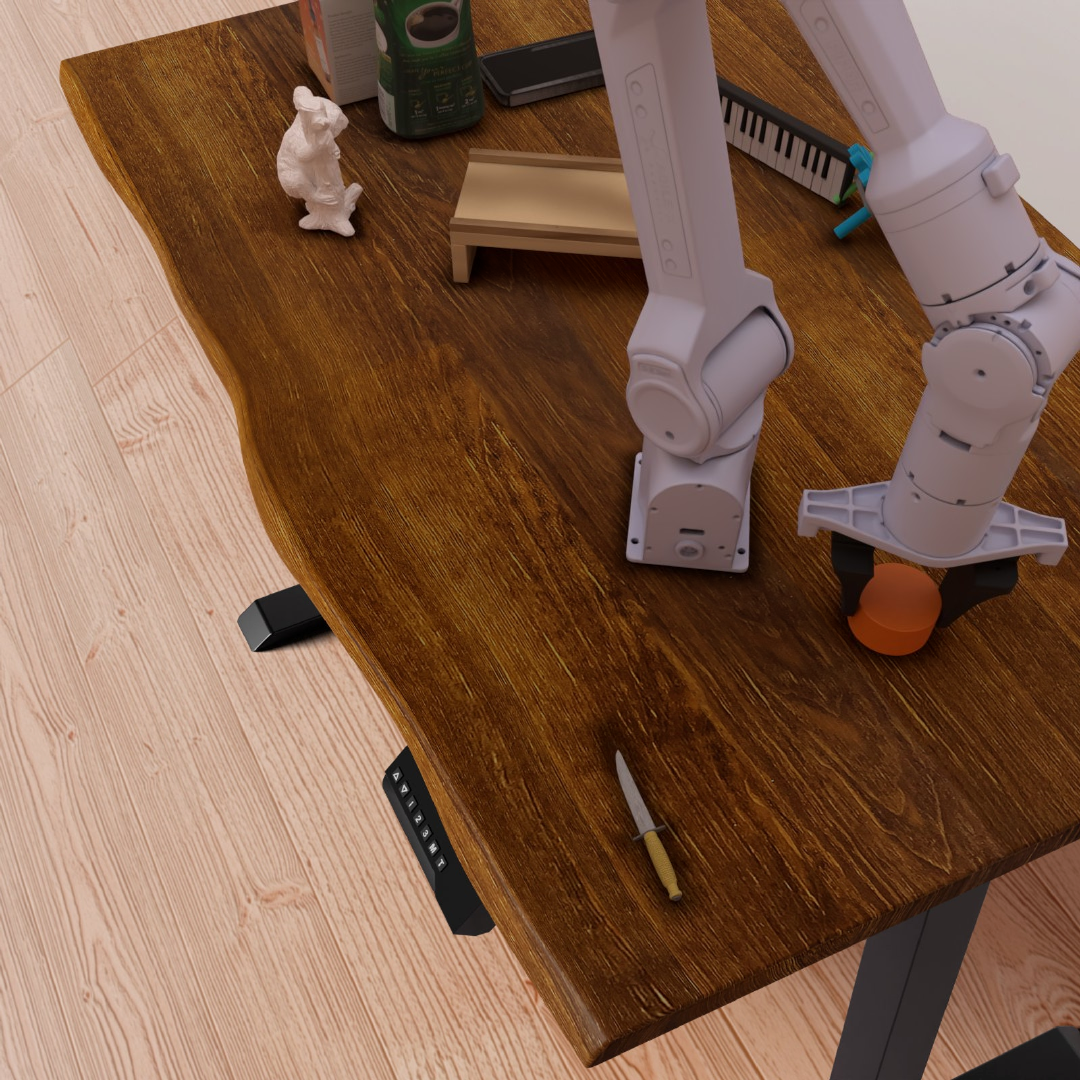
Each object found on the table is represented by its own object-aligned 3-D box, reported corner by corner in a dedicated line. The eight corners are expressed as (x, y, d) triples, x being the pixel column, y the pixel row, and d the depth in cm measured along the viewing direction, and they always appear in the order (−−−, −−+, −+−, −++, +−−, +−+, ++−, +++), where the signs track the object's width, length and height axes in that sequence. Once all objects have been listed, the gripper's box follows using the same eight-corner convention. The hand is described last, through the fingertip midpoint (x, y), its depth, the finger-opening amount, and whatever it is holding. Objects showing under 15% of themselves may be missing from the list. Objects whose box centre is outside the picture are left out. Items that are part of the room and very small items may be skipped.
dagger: (590, 739, 69) (621, 726, 69) (593, 746, 69) (624, 733, 69) (659, 903, 62) (693, 888, 62) (661, 909, 63) (695, 894, 63)
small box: (308, 66, 114) (289, -42, 105) (362, 53, 115) (348, -55, 107) (334, 108, 109) (317, -1, 101) (390, 94, 110) (378, -15, 102)
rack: (676, 300, 92) (683, 241, 88) (453, 282, 94) (449, 223, 89) (682, 222, 99) (689, 163, 94) (473, 206, 100) (469, 147, 95)
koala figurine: (378, 239, 97) (360, 109, 88) (299, 255, 96) (272, 126, 86) (356, 181, 102) (337, 53, 93) (280, 196, 101) (253, 67, 91)
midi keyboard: (689, 123, 108) (695, 73, 104) (699, 117, 108) (705, 67, 104) (838, 209, 100) (850, 158, 96) (848, 203, 100) (860, 152, 96)
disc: (933, 660, 72) (946, 635, 70) (848, 651, 72) (858, 626, 70) (927, 592, 75) (938, 566, 73) (845, 584, 76) (854, 558, 73)
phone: (648, 63, 111) (503, 97, 108) (647, 74, 112) (503, 108, 109) (613, 24, 116) (472, 55, 112) (612, 34, 117) (473, 66, 113)
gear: (946, 260, 93) (878, 177, 88) (882, 304, 96) (812, 226, 91) (914, 192, 101) (850, 111, 96) (856, 234, 104) (791, 158, 98)
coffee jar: (468, 84, 112) (456, -121, 97) (494, 129, 107) (486, -80, 92) (370, 103, 110) (343, -103, 95) (392, 150, 105) (367, -60, 90)
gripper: (1086, 425, 64) (1007, 571, 74) (818, 397, 65) (779, 544, 76) (1104, 525, 59) (1018, 665, 70) (817, 492, 61) (776, 634, 71)
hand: (894, 608), depth 73 cm, fingers closed on disc, 5 cm apart
